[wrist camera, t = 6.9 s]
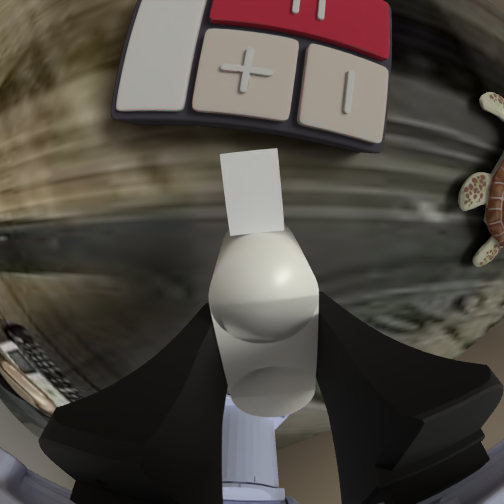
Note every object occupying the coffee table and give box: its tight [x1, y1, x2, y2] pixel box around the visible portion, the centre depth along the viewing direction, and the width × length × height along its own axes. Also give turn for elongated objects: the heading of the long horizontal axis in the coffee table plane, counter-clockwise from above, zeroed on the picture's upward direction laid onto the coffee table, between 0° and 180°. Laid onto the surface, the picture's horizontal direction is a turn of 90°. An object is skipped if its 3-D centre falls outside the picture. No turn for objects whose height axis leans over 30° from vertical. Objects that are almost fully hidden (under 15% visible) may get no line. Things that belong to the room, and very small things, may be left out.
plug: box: [209, 148, 319, 417], centre depth 9 cm, size 9×3×4 cm, turn 6°
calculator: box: [111, 0, 392, 153], centre depth 12 cm, size 11×4×15 cm
